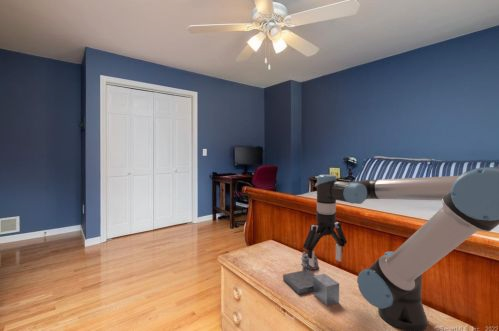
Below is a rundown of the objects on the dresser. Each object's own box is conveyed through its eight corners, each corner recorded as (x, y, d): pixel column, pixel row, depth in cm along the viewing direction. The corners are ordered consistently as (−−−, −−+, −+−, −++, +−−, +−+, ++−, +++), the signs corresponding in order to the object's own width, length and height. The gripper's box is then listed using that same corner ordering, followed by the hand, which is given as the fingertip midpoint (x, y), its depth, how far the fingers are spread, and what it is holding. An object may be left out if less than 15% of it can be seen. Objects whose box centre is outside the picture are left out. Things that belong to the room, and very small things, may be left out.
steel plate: (326, 288, 109) (326, 283, 109) (299, 295, 104) (299, 289, 104) (307, 274, 122) (307, 269, 122) (283, 279, 117) (283, 274, 117)
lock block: (339, 302, 98) (339, 283, 98) (326, 306, 96) (326, 286, 96) (324, 291, 107) (324, 273, 106) (313, 294, 104) (313, 276, 104)
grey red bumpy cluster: (323, 268, 123) (309, 249, 124) (306, 279, 125) (293, 260, 127) (322, 259, 133) (309, 242, 135) (306, 269, 136) (294, 252, 137)
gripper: (343, 208, 108) (342, 255, 109) (294, 212, 99) (294, 264, 100) (356, 211, 101) (355, 261, 102) (305, 217, 92) (304, 272, 93)
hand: (325, 263), depth 101 cm, fingers open, 13 cm apart
